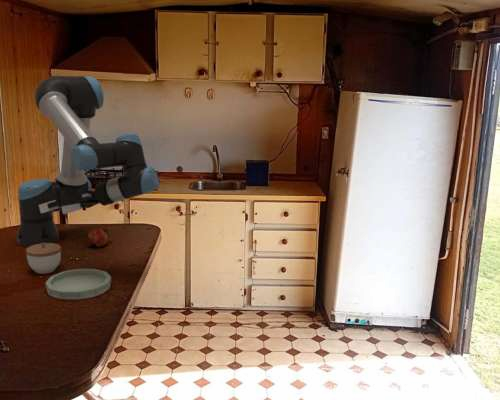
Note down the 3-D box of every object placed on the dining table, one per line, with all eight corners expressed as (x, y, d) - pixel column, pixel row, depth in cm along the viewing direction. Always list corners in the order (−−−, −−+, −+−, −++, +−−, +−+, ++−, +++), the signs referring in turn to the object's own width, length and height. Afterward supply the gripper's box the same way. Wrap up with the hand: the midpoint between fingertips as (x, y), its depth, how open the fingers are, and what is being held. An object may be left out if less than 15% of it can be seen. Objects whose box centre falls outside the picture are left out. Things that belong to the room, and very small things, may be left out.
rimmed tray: (58, 275, 169) (57, 268, 169) (116, 276, 170) (115, 269, 169) (38, 299, 151) (37, 291, 151) (102, 300, 152) (102, 292, 152)
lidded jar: (50, 277, 168) (48, 250, 165) (20, 274, 170) (18, 247, 167) (68, 266, 178) (66, 239, 176) (40, 263, 180) (38, 237, 178)
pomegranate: (90, 255, 195) (112, 239, 195) (77, 240, 193) (99, 224, 193) (94, 251, 202) (115, 235, 202) (81, 236, 201) (102, 220, 201)
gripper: (96, 201, 156) (32, 220, 159) (129, 204, 180) (73, 221, 183) (90, 176, 156) (27, 196, 159) (124, 183, 181) (68, 200, 184)
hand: (51, 209), depth 171 cm, fingers open, 13 cm apart
